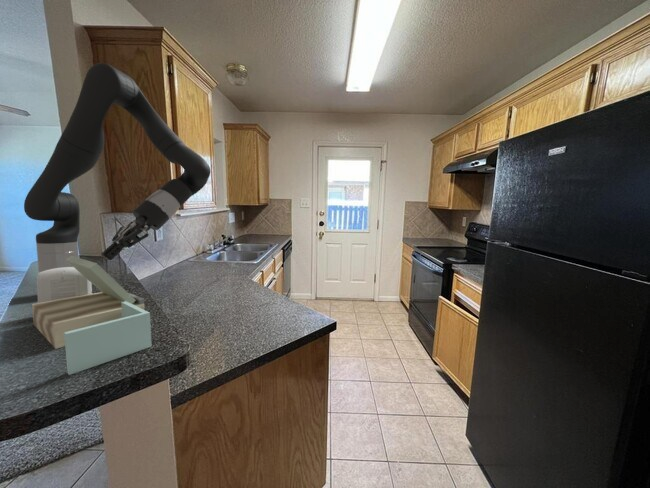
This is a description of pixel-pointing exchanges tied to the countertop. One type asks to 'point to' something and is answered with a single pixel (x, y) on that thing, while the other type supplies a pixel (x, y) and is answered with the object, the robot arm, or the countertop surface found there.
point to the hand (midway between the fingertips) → (105, 257)
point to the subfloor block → (76, 314)
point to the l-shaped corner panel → (108, 339)
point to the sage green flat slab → (100, 279)
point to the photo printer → (61, 284)
